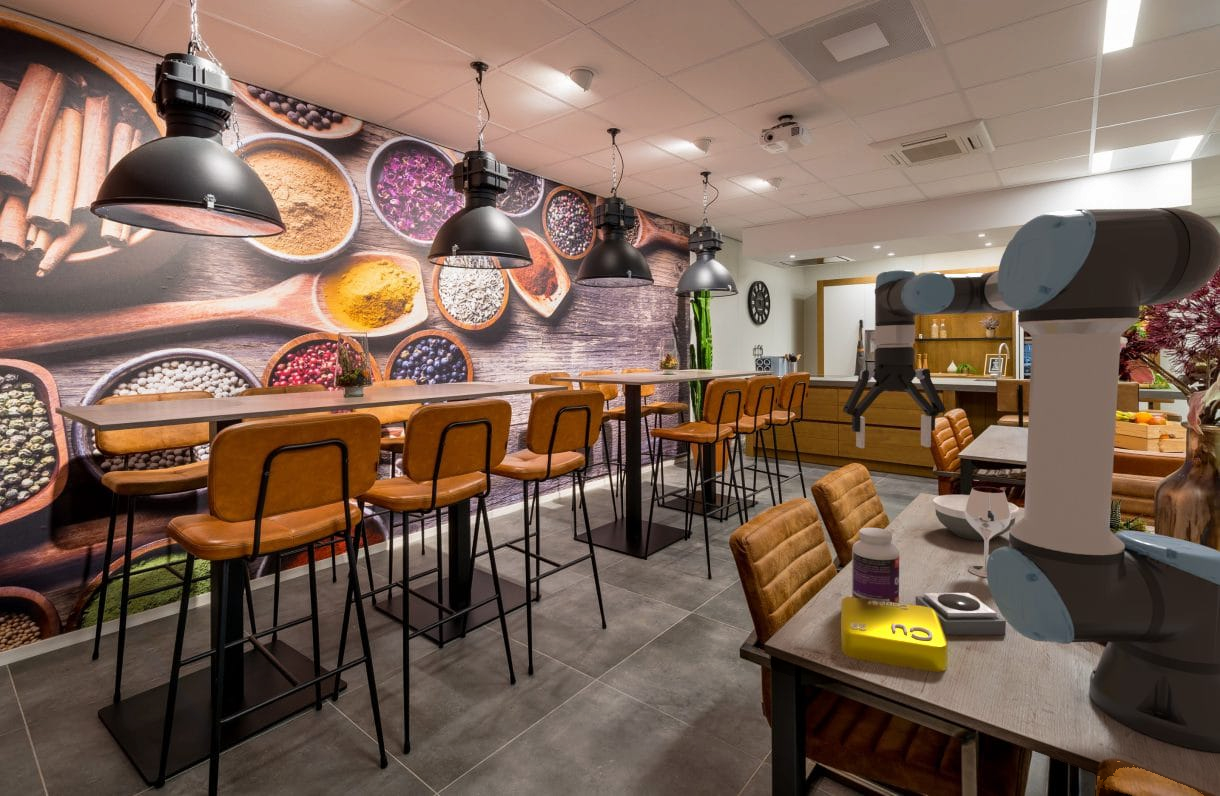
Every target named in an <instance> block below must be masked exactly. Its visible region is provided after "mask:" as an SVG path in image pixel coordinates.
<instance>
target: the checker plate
mask: <svg viewBox="0 0 1220 796" xmlns="http://www.w3.org/2000/svg"><path fill="white" fill-rule="evenodd" d="M923 596H924V601H925V602H926V603H928V604H929V605H930V606H931V607H932V608H934V609H935V610H936V611H937V612H938V613H939V614H941V615H942V616H943V617H944V618H945V619H946V620H985V619H996V614H997V612H996V611H995V610H993V609H992V608H990V607H989V606H988V605H986V604H985V603H983V602H982V601H979V600H978V599H979V598H978V599H976V598H975V597H976V596H975V595H974V596H975V597H974V596H972V594H971V593H969V592H929V593H928V592H925V593H923Z"/></svg>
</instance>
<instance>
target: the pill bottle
mask: <svg viewBox="0 0 1220 796" xmlns="http://www.w3.org/2000/svg"><path fill="white" fill-rule="evenodd" d="M858 531H859V535H858V536H859V539H860V540H857V541H856V542H854V543H853V545H852V547H851V548H852V551H851V554H852V556H851V560H852V562H851V563H852V564H851V565H852V568H851V597H856V598H864V599H871V600H879V601H887V602H895V603H900V550H899V548H898V547H897V546H896V545H894V544H893V543H892V542H893V534H892V533H893V532H891V531H889V530H888V529H885V528H880V527H879V528H878V527H863V528H861V529H859V530H858Z"/></svg>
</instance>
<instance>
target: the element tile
mask: <svg viewBox="0 0 1220 796" xmlns="http://www.w3.org/2000/svg"><path fill="white" fill-rule="evenodd" d="M840 608H841V609H840V610H841V617H840V620H841V621H840V626H841V627H840V628H841V632H840V634H841V635H840V648H841V650H842V651H841V652H842V653H844V654H843V655H844V656H846V655H847V656H846V657H848V658H851V659H856V660H861V661H867V662H874V663H880V664H887V665H891V666H892V665H893V666H896V667H897V666H898V667H899V666H900V667H904V668H911V669H915V670H923V671H928V672H929V671H930V672H936V673H942V672H945V671H947V669H948V659H949V658H948V656H949V655H948V654H949V652H948V651H949V644H948V641H947V639H946V638H947V637H946V635H944V632H943V629H942V627H941V624H940V621H939V618H938V615H937V613H936V612H935V611H934V610H933V609H932V608H930V607H925V606H918V605H916V604H908V603H900V602H899V603H895V602H887V601H879V600H871V599H864V598H856V597H852V596H845V597H844V598H842V599H841V607H840Z"/></svg>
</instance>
